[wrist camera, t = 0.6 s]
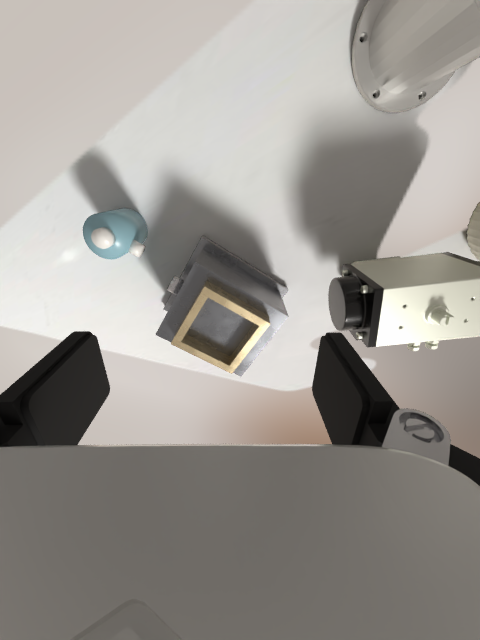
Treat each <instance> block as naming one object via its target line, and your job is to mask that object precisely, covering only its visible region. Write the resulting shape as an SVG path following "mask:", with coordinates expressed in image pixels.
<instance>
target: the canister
mask: <svg viewBox="0 0 480 640" xmlns="http://www.w3.org/2000/svg"><path fill="white" fill-rule="evenodd" d="M467 235H468V237H467V241H468V246H469V247H470V248H471V252H472V253H473V254H474V255H475V257H476V258H477V259H478V260H480V202H479V203H478V204H477V206H476V208H475V210H474V211H473V214H472V216H471V218H470V222H469V224H468V231H467Z"/></svg>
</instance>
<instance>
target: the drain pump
mask: <svg viewBox="0 0 480 640" xmlns="http://www.w3.org/2000/svg"><path fill="white" fill-rule="evenodd" d="M147 234H148V229H147V225H146V222H145V220H144V219H143V217H142V216H141V215H140V214H139V213H138V212H136V211H134V210H132V209H128V208H122V209H117V210H112V211H107V212H102V213H97V214H93V215H91V216H90V217H88V218H87V220H86V221H85V223H84V226H83V236H84V239H85V242H86V244H87V245H88V247H89V248H90V249H91V250H92V251H93V252H94V253H95V254H96V255H98V256H100V257H102V258H105V259H117V258H119V257H121V256H123V255H125V254H126V253H128V252H130V253H131V254H133V255H135V256H137V257H141V255H142V254H143V252H144V250H145V246H144V245H143V243H144V241H145V240H146V238H147Z"/></svg>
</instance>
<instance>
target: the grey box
mask: <svg viewBox="0 0 480 640" xmlns="http://www.w3.org/2000/svg"><path fill="white" fill-rule="evenodd" d="M167 291H169V292H171V293H172V294H171V296H170V297H169V299H168V301H167V303H166V305H165V307H164V310H166V311H168V312H167V314H166V316H165V318H164V320H163V322H162V323H161V325H160V327H159V329H158V331H157V333H156V335H157V336H159V337H161V338H163V339H166V340H168V341H170V342H171V344H172V345H174V346H176V347H178V348H180V349H182V350H184V351H186V352H188V353H190V354H192V355H194V356H196V357H199V358H201V359H203V360H205V361H207V362H209V363H211V364H213V365H215V366H217V367H219V368H221V369H223V370H225V371H227V372H229V373H231V374H232V373H235V374H237V375H239V376H242V375H243V373H244V372H245V371H246V370H247V368H248V367H249V366H250V365H251V363H252V362H253V361H254V360H255V358H256V357H257V356H258V355H259V353H260V352H261V351H262V350H263V348H264V347H265V346H266V344H267V343H268V342H269V341H270V339H271V338H272V337H273V336H274V334H275V333H276V332H277V331H278V329H279V328H280V327H281V326H282V324H283V323H284V322H285V321H286V319H287V318H288V314H287V311H286V308H285V305H284V303H283V300H282V298H283V296H284V295H285V294H286V293H287V291H288V288H287V287H285V286H284V285H282V284H281V283H279V282H277V281H276V280H274V279H273V278H271V277H269V276H268V275H266V274H264V273H263V272H261V271H260V270H258V269H256V268H255V267H253V266H252V265H250V264H248V263H247V262H245V261H243V260H242V259H240V258H239V257H237V256H235V255H234V254H232V253H231V252H229V251H227V250H226V249H224V248H222V247H221V246H219V245H218V244H216V243H214V242H213V241H211V240H210V239H208V238H206V237H205V236H202V237H201V239H200V241H199V243H198V245H197V247H196V248H195V250H194V252H193V254H192V256H191V258H190V260H189V262H188V264H187V265H186V267H185V269H184V271H183V273H182V275H181V277H180V278H178V277H177V276H174V278H173V279H172V281H171V283H170V285H169V287H168V289H167Z"/></svg>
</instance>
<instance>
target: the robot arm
mask: <svg viewBox="0 0 480 640" xmlns="http://www.w3.org/2000/svg"><path fill="white" fill-rule="evenodd" d="M360 38H361V39H362V43H361V42H360ZM479 57H480V0H368V2H367V4H366V5H365V7H364V9H363V12H362V14H361V16H360V19H359V21H358V24H357V28H356V32H355V35H354V40H353V48H352V68H353V74H354V79H355V82H356V85H357V88H358V90H359V92H360V93H361V95H362V97H363V98H364V99H365V100H366V101H367V102H368V103H369V104H370V105H371V106H373V107H374V108H376V109H377V110H380V111H383V112H387V113H399V112H404V111H408V110H410V109H413V108H415V107H417V106H419V105H421V104H423V103H425V102H426V101H428V100H429V99H430V98H432V97H433V96H434V95H436V94H437V93H438V92H439V91H440V90H441V89H442V88H443V87H444V86H445V84H446V83H447V82H448V81H449V79H450V78H451V77H452V75H453V74H454V72H455V71H456V70H457V69H459V68H460V67H462V66H464V65H466V64H468V63H470V62H472V61H474V60H475V59H477V58H479ZM373 94H375V98H373ZM418 97H420V98H418ZM312 391H313V396H314V398H315V401H316V403H317V406H318V409H319V411H320V413H321V416H322V419H323V421H324V424H325V427H326V429H327V432H328V434H329V437H330V439H331V442H332V444H170V445H169V444H166V445H165V444H158V445H78V443H79V441H80V440H81V438H82V437H83V435H84V433H85V432H86V430H87V428H88V427H89V425H90V424H91V422H92V420H93V419H94V417H95V416H96V414H97V413H98V411H99V409H100V408H101V406H102V405H103V403H104V401H105V400H106V398H107V396H108V395H109V392H110V385H109V382H108V378H107V374H106V370H105V367H104V363H103V359H102V355H101V351H100V347H99V344H98V340H97V337H96V336H95V335H93V334H92V333H91V332H73V333H72V334H70V335H69V336H68V337H67V338H66V339H65V340H63V341H62V342H61V343H60V344H59V345H58V346H56V347H55V348H54V349H53V350H52V351H51V352H50V353H48V354H47V355H46V356H45V357H44V358H43V359H41V360H40V361H39V362H38V363H37V364H36V365H35V366H33V367H32V368H31V369H30V370H29V371H27V372H26V373H25V374H24V375H23V376H22V377H20V378H19V379H18V380H17V381H16V382H15V383H13V384H12V385H11V386H10V387H9V388H8V389H7V390H5V391H4V392H3V393H2V394H1V395H0V640H480V459H479V458H477V457H475V456H473V455H471V454H469V453H467V452H465V451H463V450H461V449H459V448H457V447H455V446H453V445H451V444H450V442H451V439H450V434H449V432H448V431H447V429H446V428H445V427H444V426H443V425H442V424H441V423H440V422H439V421H438V420H436V419H435V418H433V417H432V416H430V415H428V414H426V413H424V412H421V411H418V410H414V409H408V408H406V409H399V407H398V406H397V405H396V403H395V402H394V401H393V399H392V398H391V397H390V395H389V394H388V393H387V391H386V390H385V389H384V388H383V386H382V385H381V384H380V382H379V381H378V380H377V378H376V377H375V376H374V374H373V373H372V372H371V371H370V369H369V368H368V367H367V365H366V364H365V363H364V362H363V360H362V359H361V358H360V356H359V355H358V354H357V352H356V351H355V350H354V348H353V347H352V346H351V345H350V343H349V342H348V341H347V339H346V338H345V337H344V335H343V334H342V333H326V335H325V336H322V337H321V340H320V346H319V352H318V357H317V363H316V369H315V374H314V380H313V386H312Z"/></svg>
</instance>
